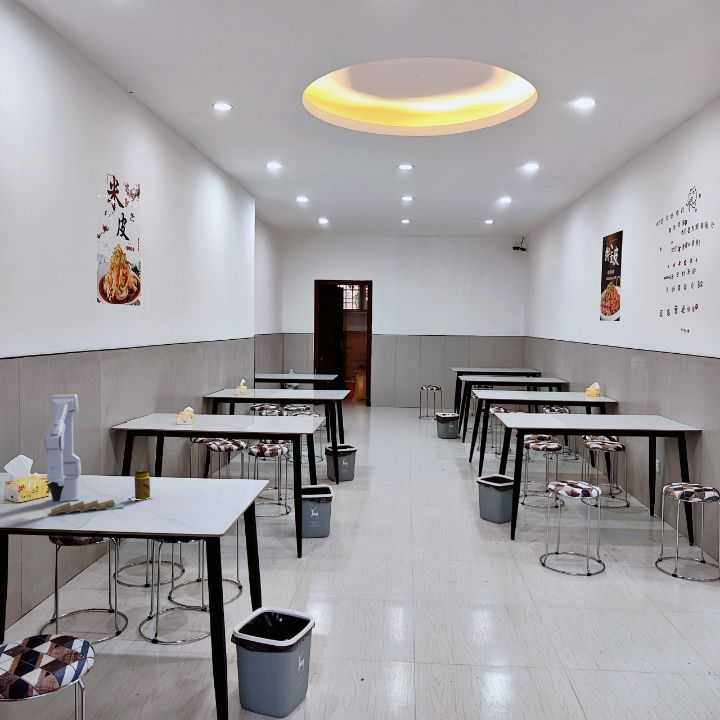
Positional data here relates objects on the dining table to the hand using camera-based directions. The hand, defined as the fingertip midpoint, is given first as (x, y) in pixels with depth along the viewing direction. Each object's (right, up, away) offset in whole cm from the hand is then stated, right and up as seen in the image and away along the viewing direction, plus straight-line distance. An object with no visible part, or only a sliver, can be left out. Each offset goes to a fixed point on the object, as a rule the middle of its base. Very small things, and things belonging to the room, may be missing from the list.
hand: (56, 501), depth 274 cm
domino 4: (+13, -4, +6) cm, 15 cm away
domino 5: (+17, -4, +6) cm, 18 cm away
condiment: (+26, -4, +21) cm, 34 cm away
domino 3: (+8, -4, +3) cm, 9 cm away
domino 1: (-2, -4, -1) cm, 5 cm away
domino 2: (+3, -4, +1) cm, 5 cm away
